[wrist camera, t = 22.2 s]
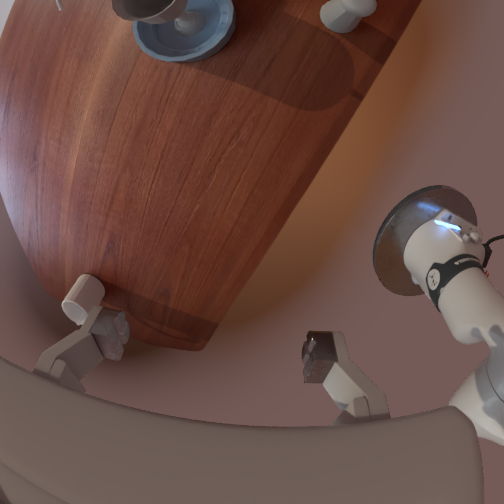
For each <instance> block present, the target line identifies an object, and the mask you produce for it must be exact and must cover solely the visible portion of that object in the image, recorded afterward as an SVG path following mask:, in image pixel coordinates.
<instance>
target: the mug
mask: <svg viewBox="0 0 504 504" xmlns="http://www.w3.org/2000/svg"><path fill="white" fill-rule="evenodd" d="M104 295H105V289H104V286H103V284H102V283H101V282H100V281H99V280H98V279H97V278H96V277H94V276H92V275H89V274H83V275H81V276H80V277H79V278H78V280H77V281H76V283H75V284H74V286H73V287H72V289H71V290H70V292H69V293H68V295H67V296H66V298H65V299H64V301H63V302H62V308H63V310H64V312H65V314H66V315H67V316H68V317H69V318H70V319H71V320H73V321H74V322H76V324H77V325H80V324H81V325H83V323H84V321H85V320H86V318H87V316H88V314H89V312H90V311H91V309H92V307H93V306H95V305H97V306H99V304H100V302H101V300H102V299H103V297H104Z"/></svg>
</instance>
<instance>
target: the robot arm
mask: <svg viewBox="0 0 504 504" xmlns="http://www.w3.org/2000/svg"><path fill="white" fill-rule="evenodd" d="M482 235H483V233H482V231H481V229H480V228H478V227H477V226H475V225H474V224H472V223H470V222H469V221H467V220H465V219H464V218H462V217H460V216H459V215H457V214H455V213H453V212H452V211H450V210H448V209H444V210H443V211H441V212H440V213H439V214H438V215H437V216H436V217H435V218H434V219H432V220H430V221H427V222H426V223H424V224H422V225H421V226H420V227H419V228H418V229H416V231H415V232H414V233H413V234H412V235H411V237H410V238H409V240H408V242H407V244H406V246H405V250H404V264H405V266H406V268H407V269H408V270H409V271H410V273H411V276H412V280H413V282H414V283H415V284H419V285H420V287H421V288H422V290H423V291H424V292H425V294H426V295H427V296H428V298H429V299H431V300H432V301H433V302H432V303H433V304H434V306H435V307H436V308H437V310H438V311H439V312H441V313H442V315H443V317H444V319H445V321H446V323H447V325H448V327H449V329H450V331H451V333H452V335H453V337H454V338H455V339H456V340H458V341H459V342H461V343H464V344H474V343H478V342H481V341H483V340H485V341H486V342H487V344H488V345H489V347H490V353H489V355H488V356H487V357H486V358H485V360H483V362H482V363H481V364H480V365H479V366H478V367H477V368H476V369H475V370H474V371H473V372H472V373H471V374H470V375H469V376H468V377H467V378H466V379H465V380H464V382H463V383H462V384H461V385H460V387H459V388H458V389H457V391H456V392H455V394H454V395H453V396H452V398H451V399H450V402H449V405H448V406H445V407H441V408H438V409H434V410H430V411H426V412H421V413H417V414H412V415H407V416H402V417H396V418H391V417H390V413H389V408H388V404H387V400H386V395H385V394H384V393H383V392H382V391H381V390H380V388H378V387H377V385H376V384H374V382H373V381H372V380H371V379H370V378H369V377H368V376H367V375H366V374H365V373H364V372H363V371H362V370H361V369H360V368H359V367H358V366H357V365H356V364H355V363H354V362H352V361H350V359H349V355H348V351H347V346H346V342H345V338H344V334H343V332H333V331H332V332H331V331H309V332H308V334H307V341H305V342H304V345H303V348H302V362H303V363H304V365H305V367H304V369H303V376H304V383H323V384H322V385H323V386H324V387H325V389H326V390H327V392H328V393H329V394H330V396H331V397H332V398H333V400H334V401H335V403H336V404H337V405H338V407H339V408H340V409H341V411H342V413H341V414H340V415H339V416H338V417H337V419H336V420H335V421H334V425H330V426H309V427H270V426H248V425H235V424H223V423H215V422H206V421H199V420H192V419H186V418H179V417H173V416H168V415H163V414H159V413H154V412H149V411H145V410H140V409H136V408H132V407H128V406H124V405H121V404H117V403H114V402H110V401H107V400H104V399H100V398H97V397H94V396H91V395H88V394H85V388H84V386H83V385H82V384H81V383H80V380H81V379H82V378H83V377H84V376H85V375H86V374H87V373H88V372H90V371H91V370H92V369H93V368H94V367H95V366H96V365H97V364H99V363H100V362H101V361H102V360H103V359H104V358H108V359H113V360H117V361H120V359H121V356H122V354H123V351H124V349H123V345H124V344H125V343H127V341H128V338H129V333H130V328H129V324H128V322H127V321H126V320H125V318H126V315H125V312H124V311H121V310H116V309H111V308H107V307H102V306H97V305H95V306H93V307H92V309H91V311H90V312H89V314H88V316H87V318H86V320H85V321H84V323H83V325H82V327H81V329H80V330H76V331H75V332H73V333H72V334H70V335H68V336H67V337H66V338H64V339H62V340H61V341H59V342H58V343H56V344H55V345H53V346H52V347H50V348H49V349H47V350H46V351H44V352H43V353H42V355H41V357H40V359H39V361H38V362H37V364H36V366H35V368H34V371H33V372H30V371H28V370H26V369H24V368H22V367H20V366H18V365H16V364H14V363H12V362H10V361H8V360H6V359H4V358H2V357H1V356H0V504H484V477H483V466H482V458H481V452H480V446H479V441H478V437H482V438H485V439H489V440H492V441H494V442H496V443H498V444H500V445H502V446H504V296H503V295H502V294H501V293H500V292H499V291H498V290H497V289H496V288H495V286H494V285H493V284H492V283H491V281H490V280H489V279H488V278H487V277H488V276H489V273H488V275H487V276H486V274H487V271H486V272H484V270H483V268H485V267H486V266H487V263H488V260H489V258H490V256H491V253H492V250H491V249H490V247H489V246H488V245H489V244H490V243H491V242H493V241H495V240H499V239H503V238H504V235H501V236H497V237H494V238H492V239H490V240H489V241H487V243H486V244H481V242H482Z"/></svg>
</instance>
